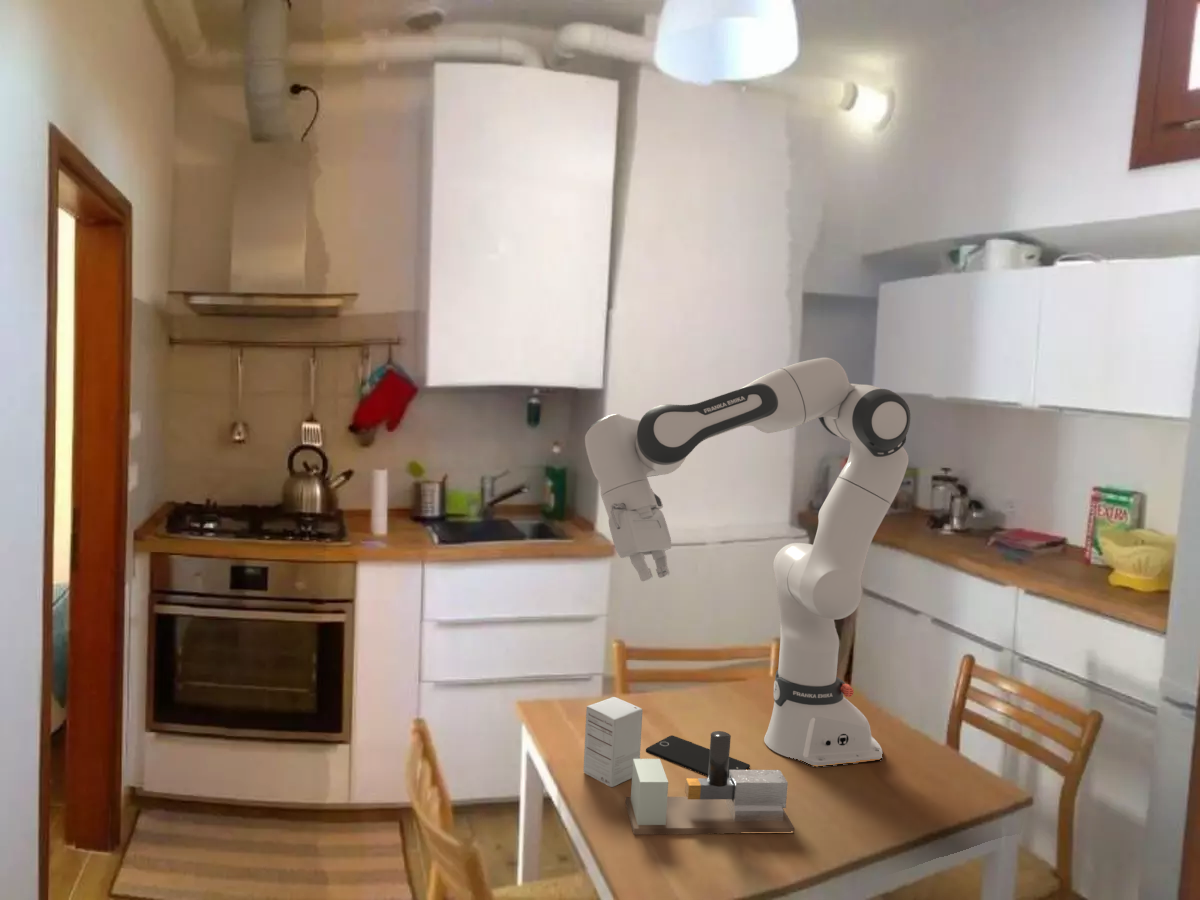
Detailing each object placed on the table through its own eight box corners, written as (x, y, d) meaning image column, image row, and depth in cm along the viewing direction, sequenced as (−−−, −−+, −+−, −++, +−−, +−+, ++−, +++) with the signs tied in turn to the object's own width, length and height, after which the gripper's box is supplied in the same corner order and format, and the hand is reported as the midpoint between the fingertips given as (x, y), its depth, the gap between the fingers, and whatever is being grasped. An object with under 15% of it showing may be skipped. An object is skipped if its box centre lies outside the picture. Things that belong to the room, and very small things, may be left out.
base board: (775, 802, 158) (776, 796, 158) (793, 833, 148) (794, 827, 148) (625, 802, 155) (625, 796, 155) (633, 834, 145) (634, 828, 145)
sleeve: (775, 802, 156) (778, 767, 155) (786, 821, 150) (789, 784, 149) (725, 802, 155) (728, 767, 154) (734, 821, 149) (737, 784, 148)
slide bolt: (772, 790, 154) (777, 731, 152) (778, 800, 150) (783, 739, 149) (684, 790, 152) (688, 730, 151) (688, 800, 149) (692, 739, 148)
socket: (657, 799, 154) (659, 758, 153) (665, 824, 146) (668, 782, 146) (630, 799, 154) (633, 758, 153) (637, 825, 146) (640, 782, 145)
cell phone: (671, 739, 181) (671, 734, 181) (751, 769, 170) (751, 764, 170) (644, 753, 175) (644, 748, 174) (725, 786, 163) (726, 781, 163)
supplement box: (610, 761, 170) (614, 695, 168) (640, 776, 165) (644, 708, 163) (581, 772, 165) (585, 705, 163) (610, 788, 159) (615, 718, 158)
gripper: (625, 496, 153) (653, 576, 150) (663, 498, 172) (688, 569, 169) (592, 510, 155) (619, 588, 152) (633, 510, 174) (658, 580, 171)
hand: (656, 578), depth 161 cm, fingers open, 8 cm apart
